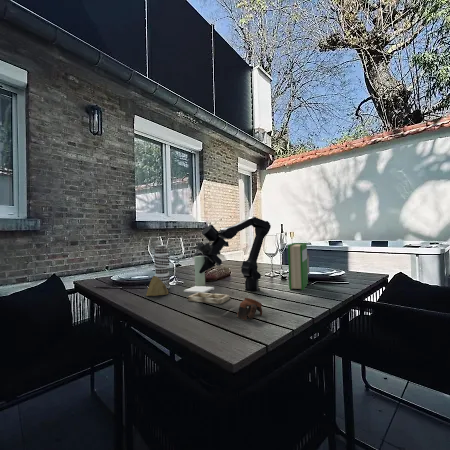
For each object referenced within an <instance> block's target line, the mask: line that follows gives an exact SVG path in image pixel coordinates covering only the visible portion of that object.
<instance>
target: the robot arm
mask: <svg viewBox="0 0 450 450" xmlns="http://www.w3.org/2000/svg"><path fill="white" fill-rule="evenodd" d="M250 226H252V227H253V228H254V233H255V234H254V235H255V236H254V238H253V242H252V246H251V248H250V251H249V255H248V258H247V259H246V260H243V261H242V264H241V267H240V268H241V270H240V271H241V274H242V275H243V276H242V277H243V278H244V279H245V281H244V284H245V285H244V286H245V289H244V290H245V291H250V292H257V291H259V290H260V289H261V288H260V287H259V286H260V285H259V280H261V277H262V274H261V273H260V272H259V271H258V263H257V262H258V259H259V255H260V253H261V249H262V245H263V243H264V239H265V237H266V236H267V235H268V234H269V232H270V230H271V226H272V225H271V223H270V222H269V221H267V220H263V219H261V218H258V217H257V216H248V217H247V218H245V219H242V220H241V221H240V222H238V223H236V224H234V225H231V226H225V227H222V228H221V229H219V230H217V229H216V228H215V226H214V225H213V224H209V225H208V226H206V227H205V228H203V229H202V232H201V235H202V236H203V237H204V238H206V240H207V241H208V242H212V243H211V244H210V243H208V242H204V243H199V242H197V245H196V248H195V250H196V251H200V252H195V253H194V254H193V257H195V256H204V264H203V266H202V268H201V269H200V271H199V273H200V274H201V273H203V272H205V273H206V271H208V270H210V269H212V268H214V267H216V266H218V267H220V266H221V265H222V264H223V260H222V259H221V258H220V257H219V255H221V251H222V250H223V248H224V247H227V248H228V247H230V244H229V241H228V240H231V239H233V238H235V236H237V234H238V233H239V232H241V231H243V230H245V229H247V228H249V227H250ZM193 272H194V273H195V268H194V270H193Z"/></svg>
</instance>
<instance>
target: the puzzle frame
mask: <svg viewBox="0 0 450 450" xmlns="http://www.w3.org/2000/svg"><path fill="white" fill-rule="evenodd" d="M230 298H231V297H230V294H221V293H210V292H206V293H201V292H198V293H193V294H191V295H188V296H187V301H189V302H195V303H196V302H197V303H207V304H208V303H209V304H216V305H217V304H218V305H221V304H224V303H225V302H227V301H229V300H230Z"/></svg>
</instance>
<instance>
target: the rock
mask: <svg viewBox="0 0 450 450" xmlns="http://www.w3.org/2000/svg"><path fill="white" fill-rule="evenodd" d="M163 295H169V288H168V289H167V288H166V285H165V284H164V283H163V282H162V281H161V280H160V279H159V278H158V277H157V276H155V275H153V276H152V278H151V280H150V282H149V285H148V287H147V291H146V295H145V296H146V297H148V296H149V297H156V296H163Z"/></svg>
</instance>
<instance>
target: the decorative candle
mask: <svg viewBox="0 0 450 450" xmlns="http://www.w3.org/2000/svg"><path fill="white" fill-rule="evenodd" d="M153 258H154V259H153V261H154V262H153V264H154V269H155V273H154V274H155V275H154V276H157V277H158V278H159V279H160V280H161V281H162V282H163V283H164V284H165V285H166V288H168V289H170V284H171V282H170V281H171V280H170V277H171V276H170V272H169V269H170V264H169V263H170V261H169V260H170V259H171V258H170V255H169V248H168V246H167V245H164V244H162V245H156V246H155V247H154V255H153Z"/></svg>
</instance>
